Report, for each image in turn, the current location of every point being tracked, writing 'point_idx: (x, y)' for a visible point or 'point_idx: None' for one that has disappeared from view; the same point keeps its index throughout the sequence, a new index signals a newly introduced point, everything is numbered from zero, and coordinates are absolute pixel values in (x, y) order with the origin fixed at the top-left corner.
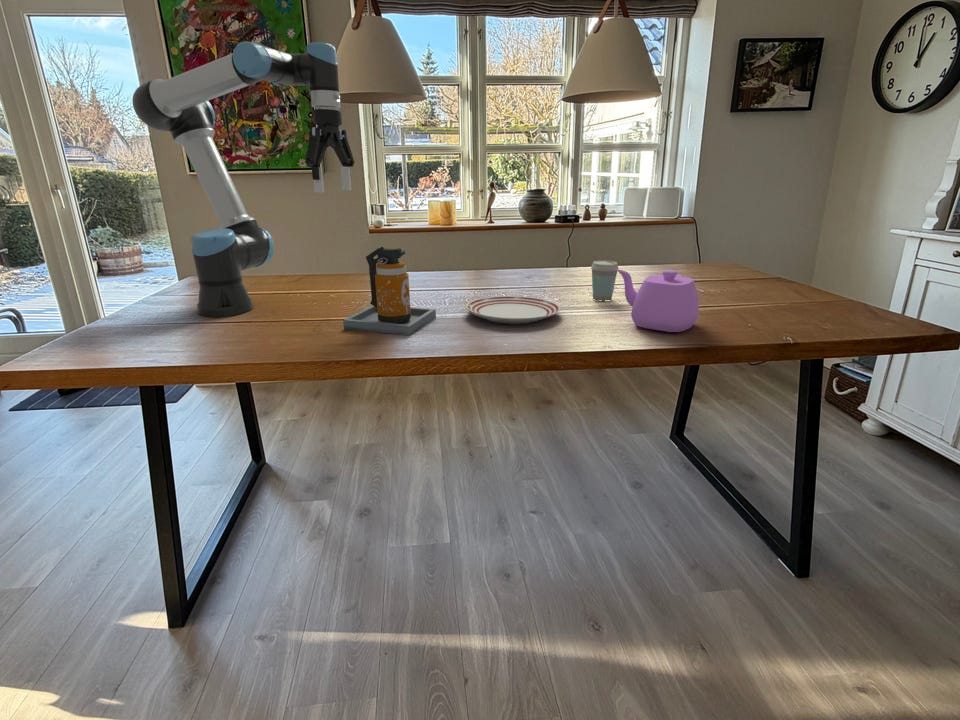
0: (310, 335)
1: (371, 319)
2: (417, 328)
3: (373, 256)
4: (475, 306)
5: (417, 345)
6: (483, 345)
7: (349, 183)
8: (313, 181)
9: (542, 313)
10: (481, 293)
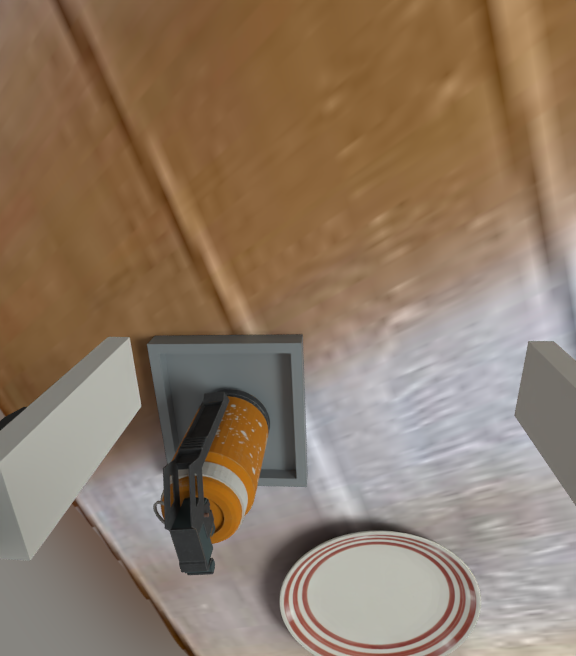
0: (85, 293)
1: (221, 369)
2: None
3: (193, 477)
4: (380, 538)
5: (137, 499)
6: (185, 581)
7: (539, 449)
8: (61, 378)
9: (386, 636)
10: (563, 501)
